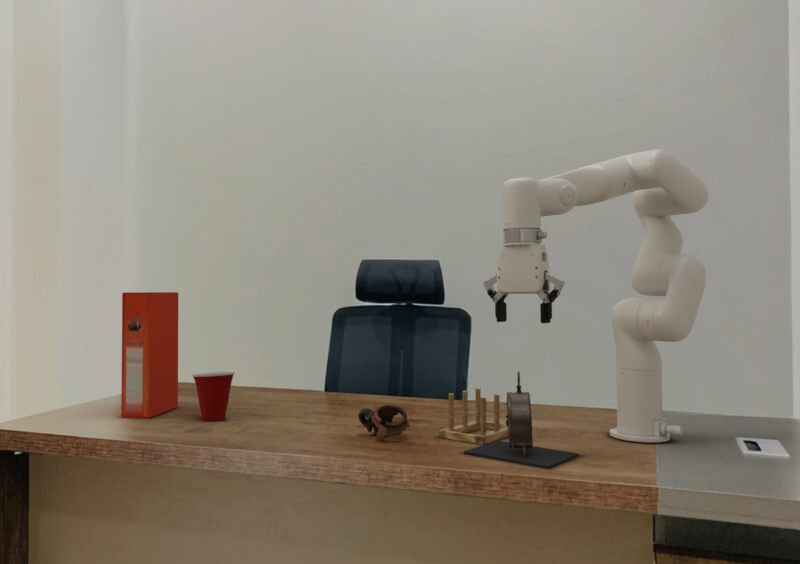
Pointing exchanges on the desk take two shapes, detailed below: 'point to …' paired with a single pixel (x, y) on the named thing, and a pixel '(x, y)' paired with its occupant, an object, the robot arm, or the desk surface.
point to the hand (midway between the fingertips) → (523, 322)
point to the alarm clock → (519, 419)
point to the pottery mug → (384, 420)
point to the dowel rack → (480, 423)
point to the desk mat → (533, 455)
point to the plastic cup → (213, 394)
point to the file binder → (149, 353)
